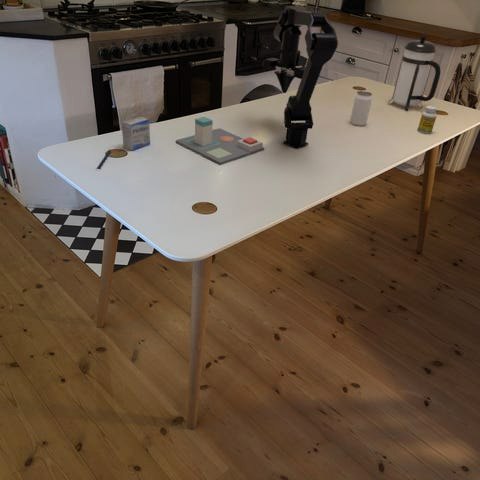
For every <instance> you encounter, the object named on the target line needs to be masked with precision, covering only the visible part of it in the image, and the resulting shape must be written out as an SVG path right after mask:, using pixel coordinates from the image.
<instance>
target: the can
mask: <svg viewBox="0 0 480 480" xmlns="http://www.w3.org/2000/svg"><path fill="white" fill-rule="evenodd" d="M372 95H373V93H371V92H369V91H366V90H360V91H359V90H358V91H357V92H356V94H355V97H354V101H353V105H352V111H351V115H350V119H349V120H350V124H351V125H353V126H356V127H357V126H358V127H364V126H366V125H367V124H368V123H367V122H368V119H369V113H370V109H371V105H372V101H373V97H372Z"/></svg>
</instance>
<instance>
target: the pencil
mask: <svg viewBox="0 0 480 480" xmlns="http://www.w3.org/2000/svg"><path fill="white" fill-rule="evenodd" d="M110 152H111V153H112V149H109V150H108V151H107V152H106V154H105V155H104V157H103V158H102V160H101V161H100V163H99V164H98V165H97V167H96V169H100V170H101V168H102V167H101V166H103V165H104V164H105V163H106V161H107V160H108V158H109V156H110V155H109V154H111V153H110ZM107 157H108V158H107ZM105 160H106V161H105ZM103 163H104V164H103Z"/></svg>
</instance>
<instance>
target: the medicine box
mask: <svg viewBox="0 0 480 480" xmlns="http://www.w3.org/2000/svg"><path fill="white" fill-rule="evenodd" d="M120 124H121V132H122V133H121V134H122V145H123V148H125V149H128V150H129V151H132V152H134V151H136V150H139V149H142V148H144V147H148V146H149V145H151V131H150V129H151V127H150V119H148V118H146V117H143V116H138V117H134V118H131V119H128V120H124V121H121V123H120Z"/></svg>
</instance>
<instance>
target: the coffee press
mask: <svg viewBox="0 0 480 480" xmlns="http://www.w3.org/2000/svg"><path fill="white" fill-rule="evenodd" d="M426 39H427V35H426V34H421V36H420V39H412V40H409V41H408V42H407V43H406V44H405V45H404V50H403V51H404V52H403V55H402V57H401V62H400V67H399V70H398V73H397V78H396V81H395V82H396V83H395V86H394V91H393V94H392V96H391V98H390V99H389V101H388V105H390V106H391V105H393V104H397V105H399V106H404V111H405V112H408V111H409V108H410V107H411V108H412V107H413V108H414V107H418V108H419V109H420V110H421V109H423V107H424V106H423V104H422V101H423V102H428V101H431V100H432V99H433V97H434V96H435V94H436V91H437V88H438V84H439V80H440V76H441V66H440V64H439V63H438V62H437V61H434V56H435V53H436V52H437V49H436V45H435V44H434V43H433V42H431V41H429V40H426ZM432 67H433V68H434V70H435V72H434V73H435V74H434V78H433V81H432V85H431V88H430V91H429V94H428V95H427V96H424V94H425V89H426V86H427V84H428V79H429V76H430V73H431V69H432ZM390 102H391V103H390ZM420 104H421V106H419V105H420Z"/></svg>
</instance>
